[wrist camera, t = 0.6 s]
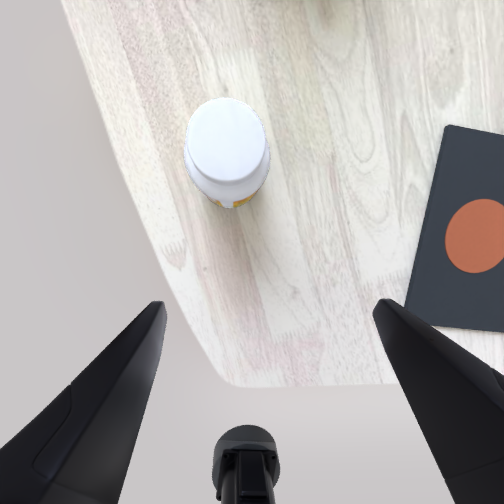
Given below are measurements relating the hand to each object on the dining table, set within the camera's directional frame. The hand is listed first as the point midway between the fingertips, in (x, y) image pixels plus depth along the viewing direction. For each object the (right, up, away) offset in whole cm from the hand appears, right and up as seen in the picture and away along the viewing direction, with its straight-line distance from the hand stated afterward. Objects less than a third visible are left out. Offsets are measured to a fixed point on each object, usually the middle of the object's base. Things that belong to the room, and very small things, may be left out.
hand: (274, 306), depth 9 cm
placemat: (+24, +4, +14) cm, 29 cm away
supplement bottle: (-3, +9, +11) cm, 15 cm away
